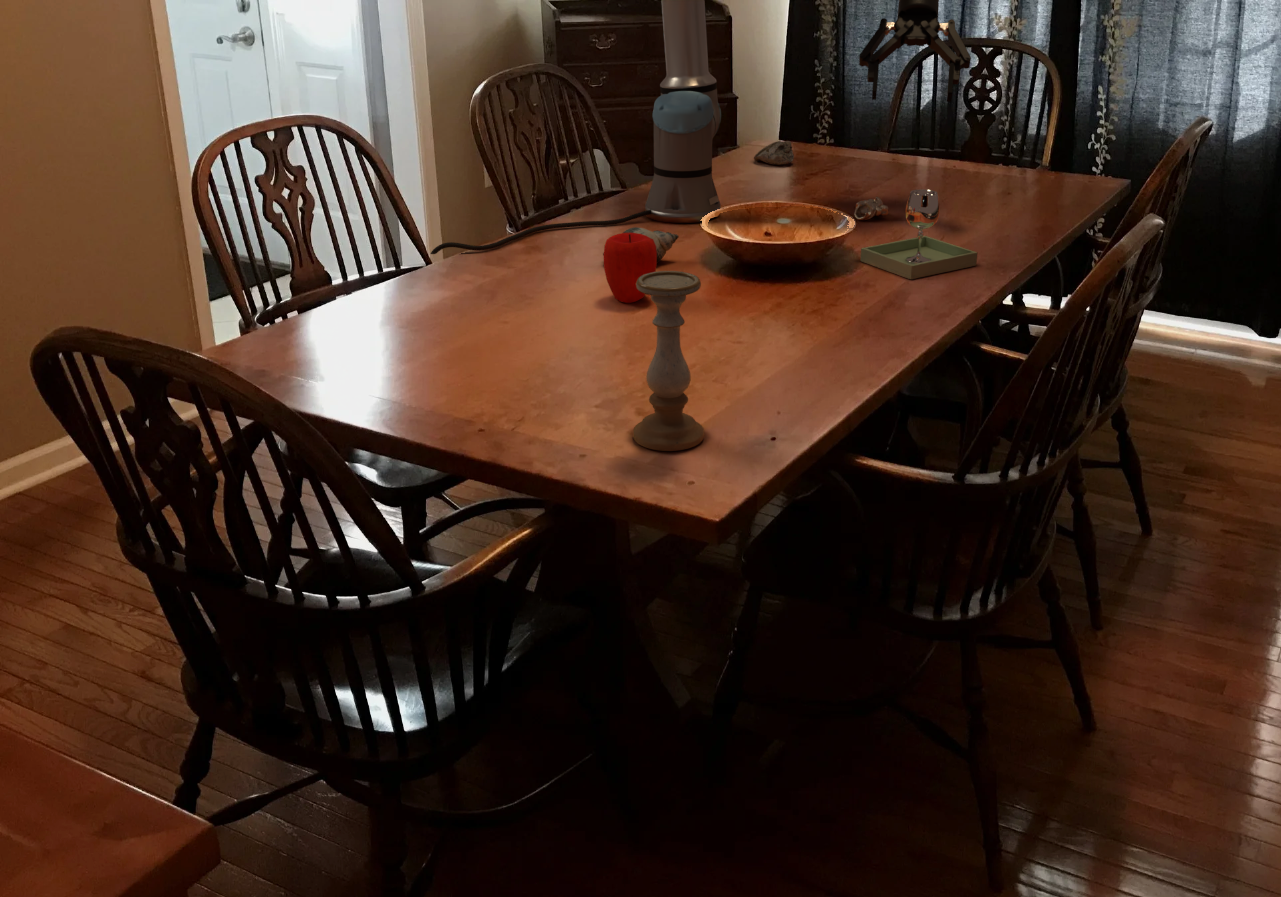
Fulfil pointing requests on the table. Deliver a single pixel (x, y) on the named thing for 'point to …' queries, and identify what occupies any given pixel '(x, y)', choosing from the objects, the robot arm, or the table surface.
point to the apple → (628, 264)
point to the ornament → (870, 209)
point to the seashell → (656, 239)
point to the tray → (937, 250)
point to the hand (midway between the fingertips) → (911, 96)
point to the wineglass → (921, 216)
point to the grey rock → (776, 153)
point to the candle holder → (668, 366)
